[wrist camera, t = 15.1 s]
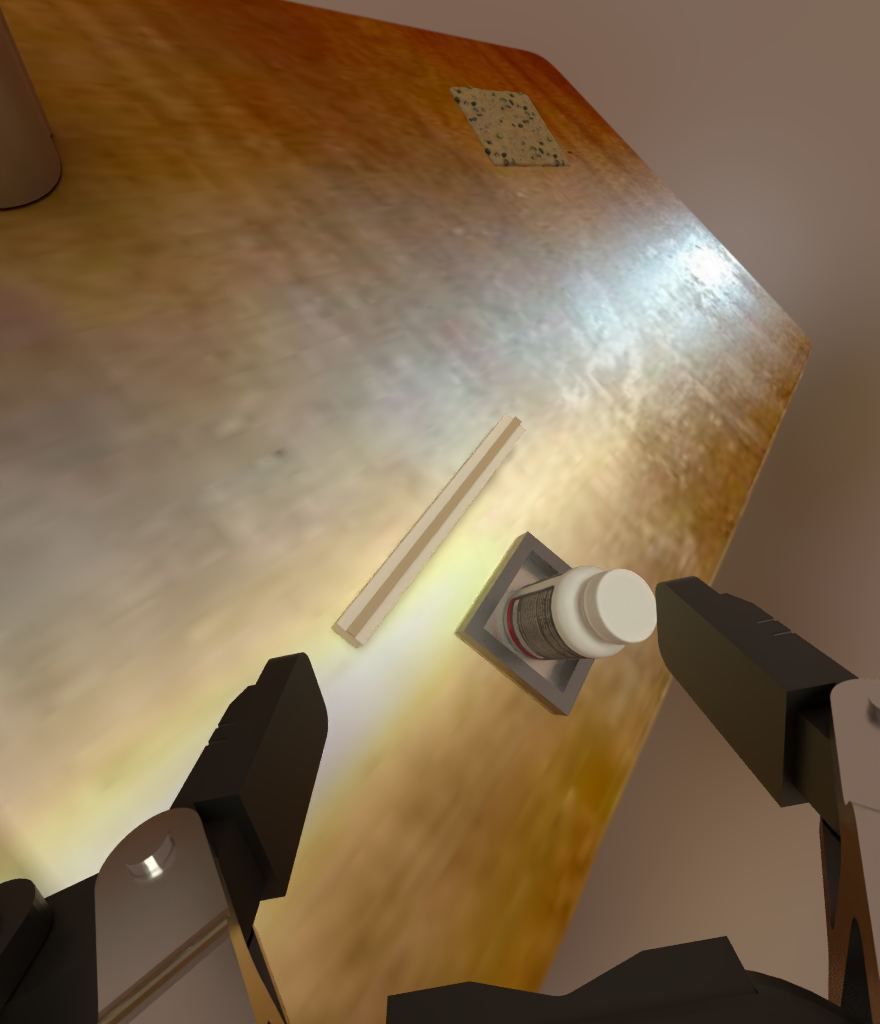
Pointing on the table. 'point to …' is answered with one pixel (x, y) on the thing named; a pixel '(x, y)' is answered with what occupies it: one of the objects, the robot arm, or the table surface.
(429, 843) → the table surface
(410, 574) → the door edge sill
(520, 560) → the index socket
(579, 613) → the pill bottle
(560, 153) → the cookie
